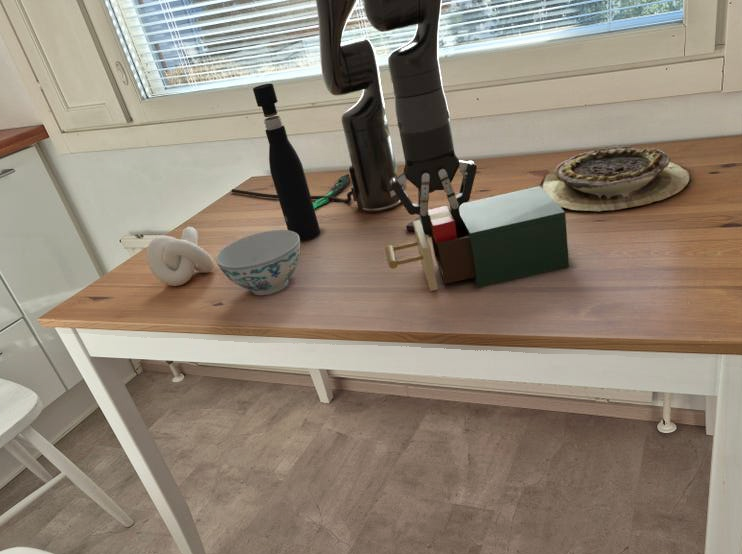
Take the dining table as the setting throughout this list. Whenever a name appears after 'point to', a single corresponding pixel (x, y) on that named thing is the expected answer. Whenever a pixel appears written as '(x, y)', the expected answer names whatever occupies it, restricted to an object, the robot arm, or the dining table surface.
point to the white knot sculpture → (178, 257)
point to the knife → (334, 190)
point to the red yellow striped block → (442, 224)
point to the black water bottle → (287, 170)
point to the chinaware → (261, 260)
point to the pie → (614, 179)
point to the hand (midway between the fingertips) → (442, 232)
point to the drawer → (439, 256)
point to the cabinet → (515, 235)
